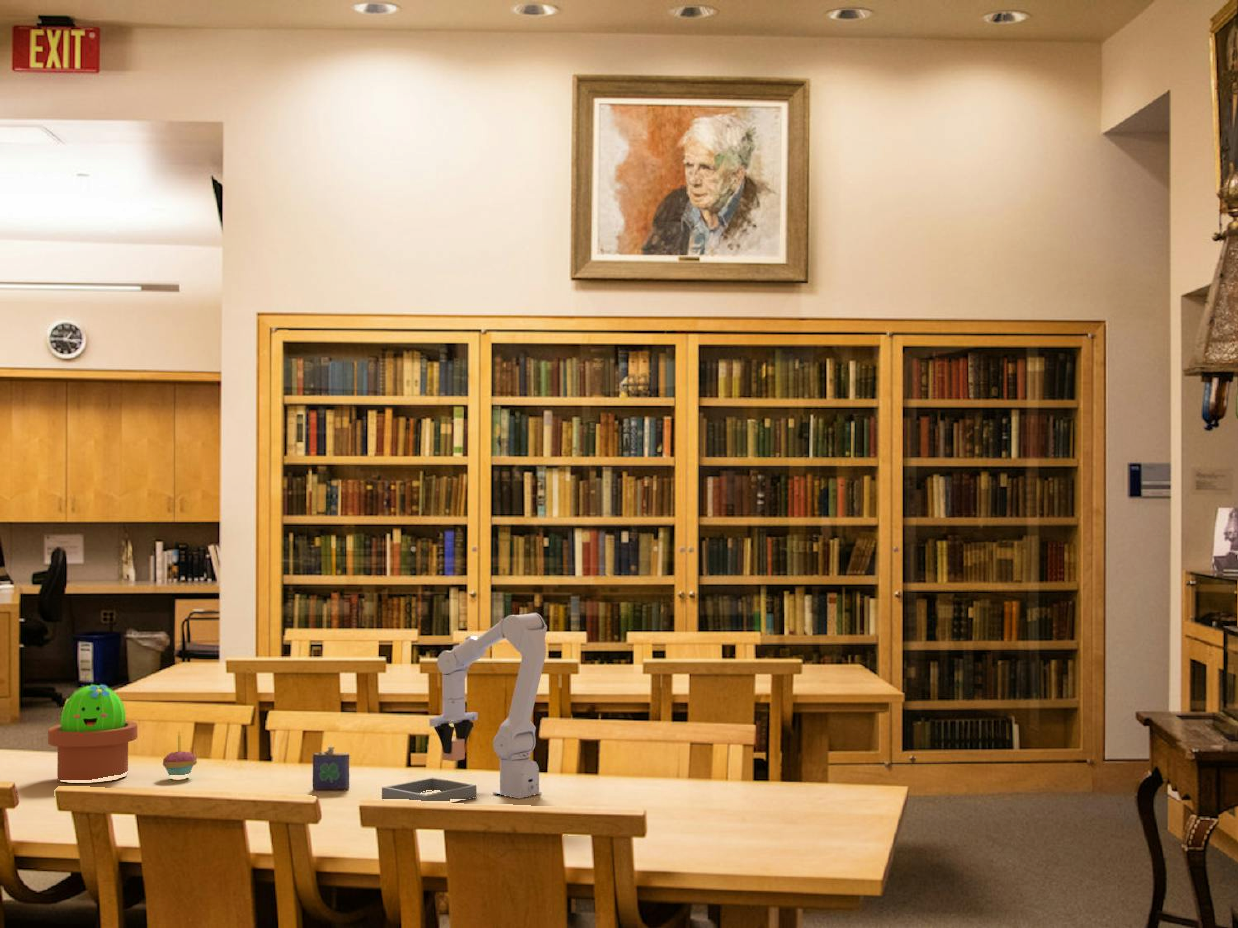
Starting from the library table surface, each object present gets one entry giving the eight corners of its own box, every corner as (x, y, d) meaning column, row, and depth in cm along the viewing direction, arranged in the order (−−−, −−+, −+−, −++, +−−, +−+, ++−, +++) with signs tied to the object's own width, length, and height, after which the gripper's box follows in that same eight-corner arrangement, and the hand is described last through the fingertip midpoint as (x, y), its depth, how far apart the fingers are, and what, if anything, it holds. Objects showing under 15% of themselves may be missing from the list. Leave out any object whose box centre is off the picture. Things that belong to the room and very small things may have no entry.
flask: (350, 788, 345) (350, 745, 345) (347, 790, 342) (347, 747, 342) (314, 788, 345) (313, 745, 345) (310, 791, 342) (310, 747, 342)
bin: (476, 797, 332) (476, 785, 332) (425, 808, 320) (425, 795, 320) (432, 789, 342) (432, 777, 342) (381, 799, 330) (381, 787, 330)
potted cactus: (53, 773, 369) (54, 679, 370) (140, 768, 375) (140, 676, 376) (42, 788, 348) (42, 689, 349) (133, 783, 354) (134, 685, 355)
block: (464, 758, 348) (464, 738, 348) (452, 761, 345) (452, 741, 345) (454, 757, 351) (454, 737, 351) (442, 759, 348) (442, 739, 348)
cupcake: (161, 777, 362) (161, 731, 362) (194, 774, 365) (194, 729, 366) (164, 782, 354) (165, 736, 354) (199, 780, 358) (199, 733, 358)
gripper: (464, 693, 357) (464, 746, 356) (421, 699, 346) (421, 754, 345) (483, 695, 352) (483, 749, 351) (439, 701, 341) (440, 757, 341)
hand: (454, 751), depth 348 cm, fingers closed on block, 4 cm apart
